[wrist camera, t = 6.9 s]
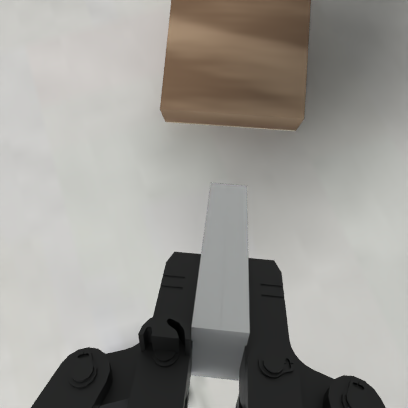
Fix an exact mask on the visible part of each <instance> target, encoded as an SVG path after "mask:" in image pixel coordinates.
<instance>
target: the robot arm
mask: <svg viewBox="0 0 408 408" xmlns="http://www.w3.org/2000/svg"><path fill="white" fill-rule="evenodd" d="M138 335H139V342H140V343H138V344H137V345H135V346H133V347H131V348H128V349H125V350H121V351H117V352H112V353H108V354H105V353H103V352H102V351H100V350H99V349H96V348H89V347H88V348H84V349H79V350H77V351H75V352H74V353H72V354H70V355H69V356H68V357H67V358H66V359H65V360H64V361H63V362H62V363H61V365H60V366H59V368H58V369H57V370H56V372H55V373H54V375H53V376H52V378H51V379H50V381H49V382H48V384H47V385H46V386H45V388H44V389H43V391H42V392H41V394H40V395H39V397H38V398H37V400H36V401H35V402H34V404H33V405H32V407H31V408H187V407H188V399H189V385H190V376H191V375H195V376H203V377H212V378H221V379H230V380H239V396H238V400H237V403H236V408H385V406H384V404H383V402H382V400H381V398H380V397H379V396H378V394H377V393H376V391H375V390H374V389H373V388H372V387H371V386H370V385H369V384H367V383H366V382H365V381H363V380H361V379H359V378H357V377H354V376H344V375H343V376H341V377H338V378H336V379H333V378H330V377H328V376H326V375H324V374H321V373H319V372H317V371H315V370H313V369H311V368H309V367H308V366H306V365H305V364H304V363H302V362H301V361H300V360H299V359H298V357H297V356H296V355H295V354H294V352H293V350H292V348H291V345H290V341H289V333H288V325H287V316H286V308H285V300H284V291H283V282H282V274H281V271H280V270H279V268H278V266H277V265H276V263H275V261H274V260H263V259H253V258H248V215H247V186H245V185H234V184H222V183H211V185H210V192H209V200H208V207H207V215H206V222H205V230H204V237H203V245H202V252H201V254H193V253H182V252H174V253H173V254H172V256H171V257H170V258H169V259H168V261H167V262H166V265H165V270H164V274H163V278H162V282H161V287H160V290H159V294H158V299H157V303H156V307H155V311H154V315H153V317H152V318H150V319H149V320H148V321H147V322H146V323H145V324H144V325H143V326H142V328H141V330H140V332H139V334H138Z"/></svg>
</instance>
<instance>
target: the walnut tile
mask: <svg viewBox="0 0 408 408" xmlns="http://www.w3.org/2000/svg"><path fill="white" fill-rule="evenodd" d="M310 4H311V0H171V10H170V19H169V29H168V38H167V48H166V57H165V67H164V76H163V86H162V95H161V105H160V110H161V112H162V115H163V117H164V119H165V122H172V123H187V124H201V125H215V126H229V127H243V128H257V129H272V130H286V131H296V130H297V128H298V127H299V125H300V124H301V123H302V121H303V120H304V113H305V95H306V77H307V59H308V41H309V23H310Z"/></svg>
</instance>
